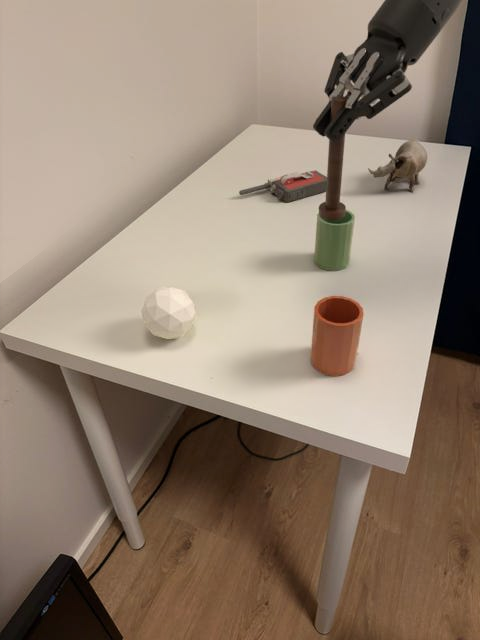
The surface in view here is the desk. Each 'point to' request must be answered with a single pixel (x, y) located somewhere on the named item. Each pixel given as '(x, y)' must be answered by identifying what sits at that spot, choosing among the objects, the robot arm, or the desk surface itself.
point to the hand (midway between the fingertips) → (323, 135)
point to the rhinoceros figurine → (404, 164)
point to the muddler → (334, 171)
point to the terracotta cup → (336, 335)
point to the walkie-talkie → (293, 185)
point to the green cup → (333, 242)
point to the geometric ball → (168, 312)
